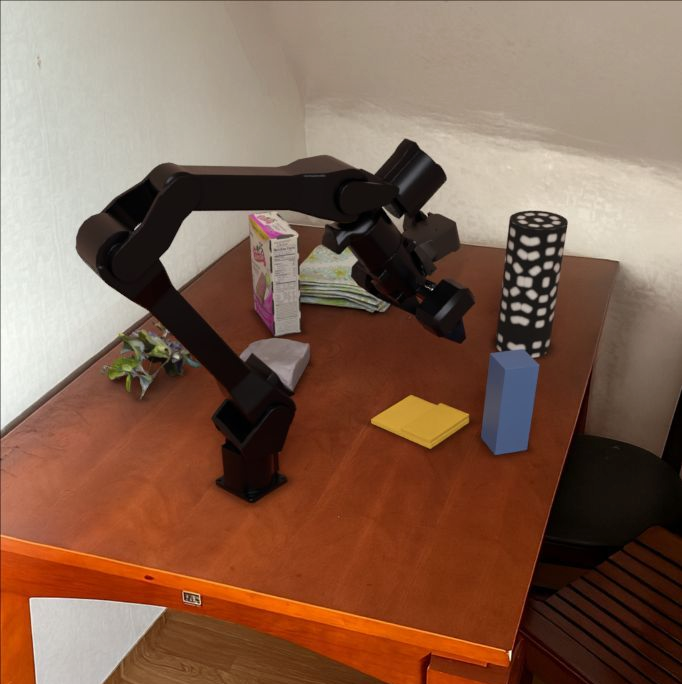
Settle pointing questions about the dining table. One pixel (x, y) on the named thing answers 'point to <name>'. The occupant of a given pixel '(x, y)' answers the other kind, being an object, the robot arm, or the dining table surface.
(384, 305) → the towel
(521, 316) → the spotted tube
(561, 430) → the dining table surface
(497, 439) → the block
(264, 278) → the candy bar box
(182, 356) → the passion flower
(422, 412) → the cloth
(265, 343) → the stone block
